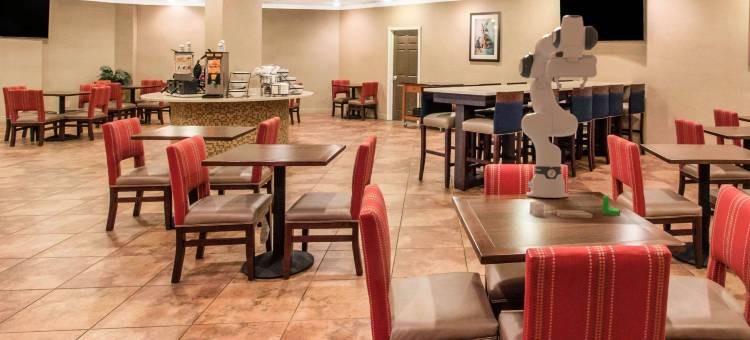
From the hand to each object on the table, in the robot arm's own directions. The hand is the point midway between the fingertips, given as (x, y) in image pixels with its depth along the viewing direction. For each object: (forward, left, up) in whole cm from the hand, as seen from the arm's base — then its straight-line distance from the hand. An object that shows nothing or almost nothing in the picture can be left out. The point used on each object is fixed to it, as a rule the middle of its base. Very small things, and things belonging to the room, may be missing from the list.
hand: (570, 88), depth 253 cm
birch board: (+6, 0, -52) cm, 52 cm away
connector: (+5, -14, -52) cm, 54 cm away
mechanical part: (-2, +19, -52) cm, 56 cm away
